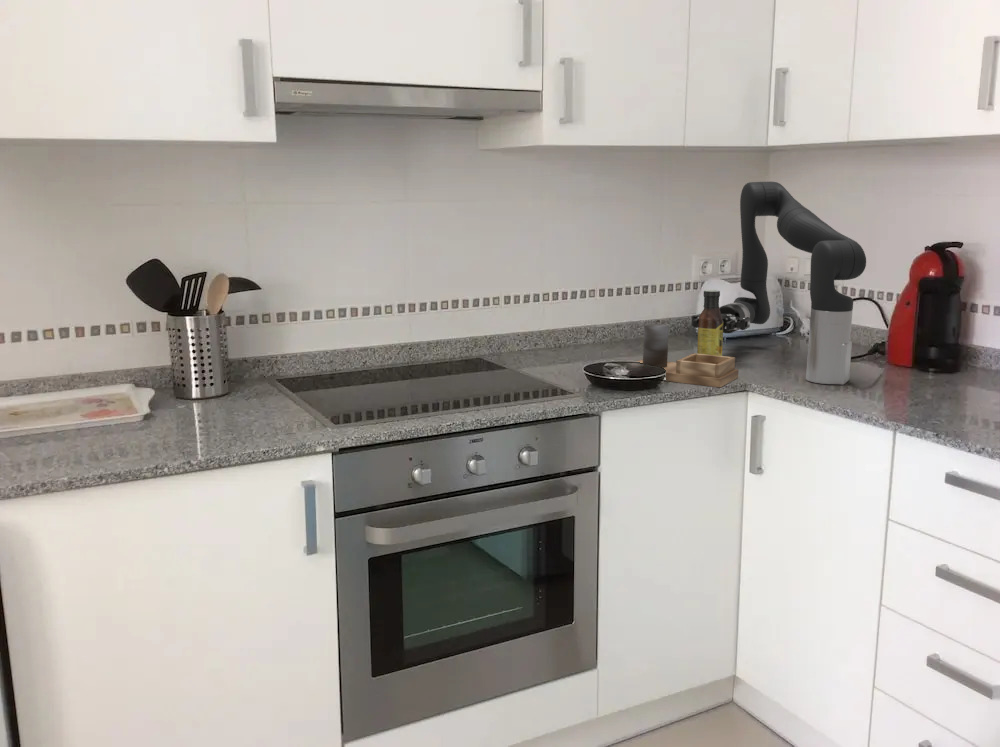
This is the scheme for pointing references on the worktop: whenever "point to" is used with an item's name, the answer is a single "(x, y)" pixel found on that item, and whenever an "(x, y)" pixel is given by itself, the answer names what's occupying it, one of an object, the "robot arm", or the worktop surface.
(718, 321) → the sauce bottle
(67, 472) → the worktop surface
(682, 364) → the condiment caddy
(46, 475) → the worktop surface
